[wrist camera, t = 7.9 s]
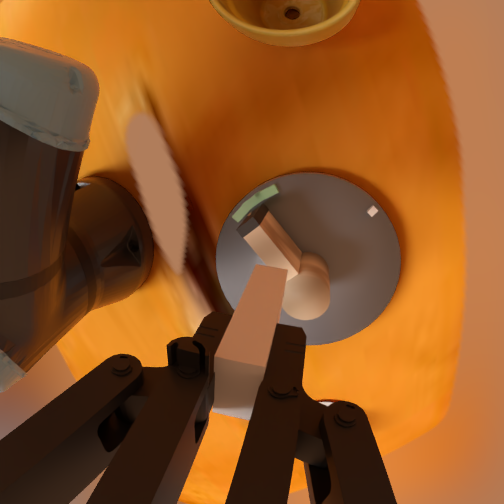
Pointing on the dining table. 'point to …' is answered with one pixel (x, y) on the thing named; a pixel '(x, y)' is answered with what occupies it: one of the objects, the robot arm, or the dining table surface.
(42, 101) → the robot arm
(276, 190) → the flat grey disc
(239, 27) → the plant pot
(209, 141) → the dining table surface
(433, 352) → the dining table surface
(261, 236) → the tuning peg
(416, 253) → the dining table surface
